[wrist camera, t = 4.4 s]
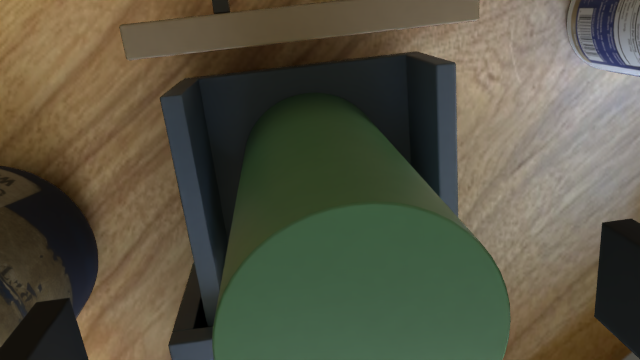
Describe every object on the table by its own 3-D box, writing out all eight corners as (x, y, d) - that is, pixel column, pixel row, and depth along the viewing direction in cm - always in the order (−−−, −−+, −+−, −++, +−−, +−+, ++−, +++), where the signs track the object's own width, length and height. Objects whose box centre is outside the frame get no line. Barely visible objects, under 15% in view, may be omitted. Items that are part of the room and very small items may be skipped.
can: (376, 84, 23) (514, 181, 10) (385, 215, 26) (508, 436, 12) (234, 101, 23) (184, 225, 10) (255, 232, 25) (237, 479, 12)
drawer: (134, -86, 21) (85, -119, 16) (427, -115, 22) (480, -157, 16) (211, 301, 27) (196, 375, 22) (438, 269, 28) (480, 333, 23)
